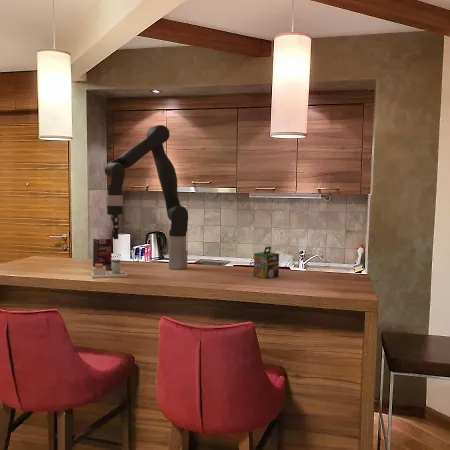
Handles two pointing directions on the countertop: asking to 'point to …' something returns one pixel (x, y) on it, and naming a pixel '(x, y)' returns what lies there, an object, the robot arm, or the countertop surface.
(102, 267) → the button
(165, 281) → the countertop surface
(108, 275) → the white flat panel
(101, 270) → the button housing
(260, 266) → the chalk box
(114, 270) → the cylinder
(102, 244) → the supplement box
